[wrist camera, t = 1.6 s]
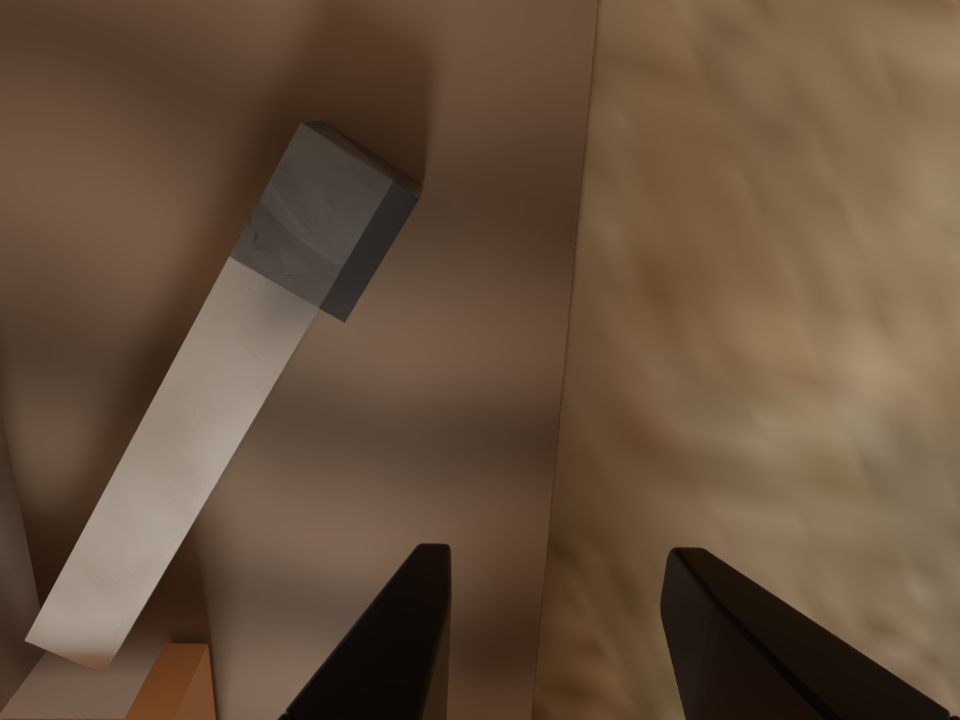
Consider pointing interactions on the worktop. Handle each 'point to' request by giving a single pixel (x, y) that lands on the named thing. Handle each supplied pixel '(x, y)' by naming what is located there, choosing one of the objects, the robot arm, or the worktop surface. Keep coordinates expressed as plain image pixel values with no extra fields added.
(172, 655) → the orange rectangular block
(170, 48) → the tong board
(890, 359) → the worktop surface
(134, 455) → the bar
